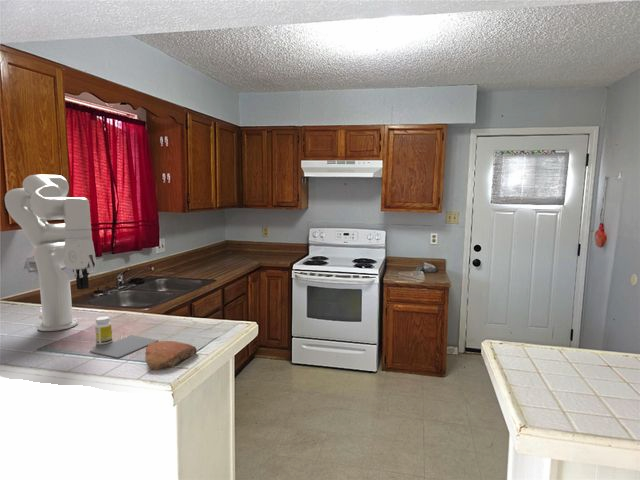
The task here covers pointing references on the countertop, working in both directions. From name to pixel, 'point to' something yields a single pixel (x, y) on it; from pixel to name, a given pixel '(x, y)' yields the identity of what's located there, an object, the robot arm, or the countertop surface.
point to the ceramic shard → (167, 353)
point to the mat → (123, 346)
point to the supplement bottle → (103, 330)
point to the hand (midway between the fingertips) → (82, 288)
